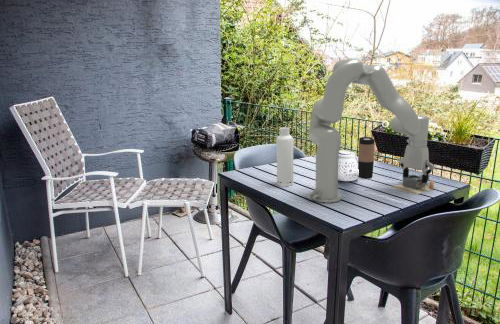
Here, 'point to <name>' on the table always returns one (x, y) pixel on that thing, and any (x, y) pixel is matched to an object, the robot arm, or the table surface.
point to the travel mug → (366, 157)
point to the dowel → (431, 184)
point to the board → (409, 190)
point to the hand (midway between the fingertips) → (414, 180)
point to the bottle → (284, 157)
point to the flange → (413, 182)
